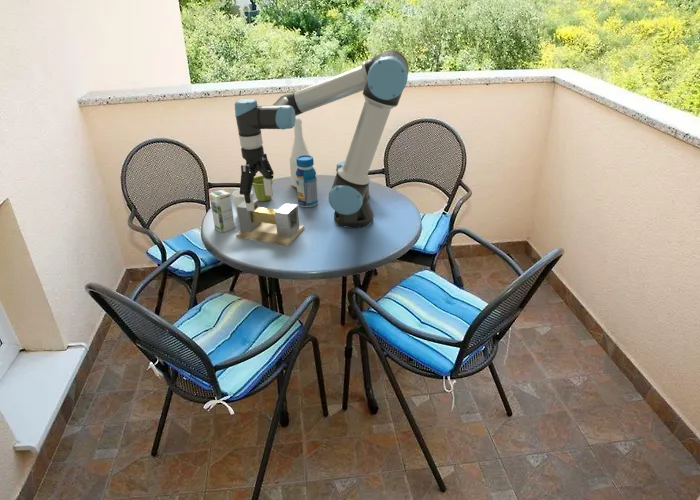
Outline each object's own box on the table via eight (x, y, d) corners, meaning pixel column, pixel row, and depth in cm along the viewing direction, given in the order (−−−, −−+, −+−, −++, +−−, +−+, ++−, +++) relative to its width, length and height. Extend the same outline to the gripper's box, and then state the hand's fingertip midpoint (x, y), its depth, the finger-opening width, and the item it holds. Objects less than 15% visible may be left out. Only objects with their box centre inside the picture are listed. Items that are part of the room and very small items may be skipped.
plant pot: (266, 205, 212) (263, 185, 207) (248, 200, 216) (245, 181, 212) (279, 196, 219) (277, 177, 214) (262, 192, 223) (260, 174, 219)
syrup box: (214, 228, 194) (208, 193, 187) (227, 223, 198) (222, 188, 190) (222, 233, 191) (216, 197, 183) (235, 228, 194) (230, 192, 187)
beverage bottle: (315, 208, 208) (312, 161, 198) (295, 207, 209) (291, 160, 199) (320, 200, 215) (317, 154, 205) (300, 199, 216) (297, 153, 206)
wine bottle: (309, 189, 225) (304, 121, 210) (288, 188, 227) (282, 121, 212) (315, 181, 233) (311, 115, 218) (295, 180, 235) (290, 114, 220)
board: (304, 228, 192) (304, 225, 192) (287, 245, 181) (287, 242, 180) (255, 221, 199) (254, 218, 198) (236, 237, 188) (235, 234, 187)
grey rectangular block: (299, 228, 189) (297, 204, 185) (289, 238, 183) (287, 214, 178) (287, 227, 191) (285, 203, 186) (277, 236, 185) (274, 212, 180)
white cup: (251, 220, 199) (248, 197, 194) (232, 219, 201) (229, 196, 196) (258, 212, 206) (255, 189, 201) (240, 211, 207) (237, 188, 202)
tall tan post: (284, 220, 188) (283, 210, 185) (279, 225, 184) (278, 215, 182) (251, 215, 192) (250, 205, 190) (245, 220, 189) (244, 209, 186)
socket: (261, 223, 194) (258, 199, 190) (250, 232, 188) (247, 208, 183) (251, 221, 196) (247, 198, 191) (240, 230, 189) (236, 206, 185)
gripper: (260, 134, 186) (267, 188, 196) (222, 157, 166) (233, 216, 176) (278, 135, 184) (285, 190, 194) (242, 158, 163) (252, 218, 174)
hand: (260, 202), depth 185 cm, fingers open, 13 cm apart
